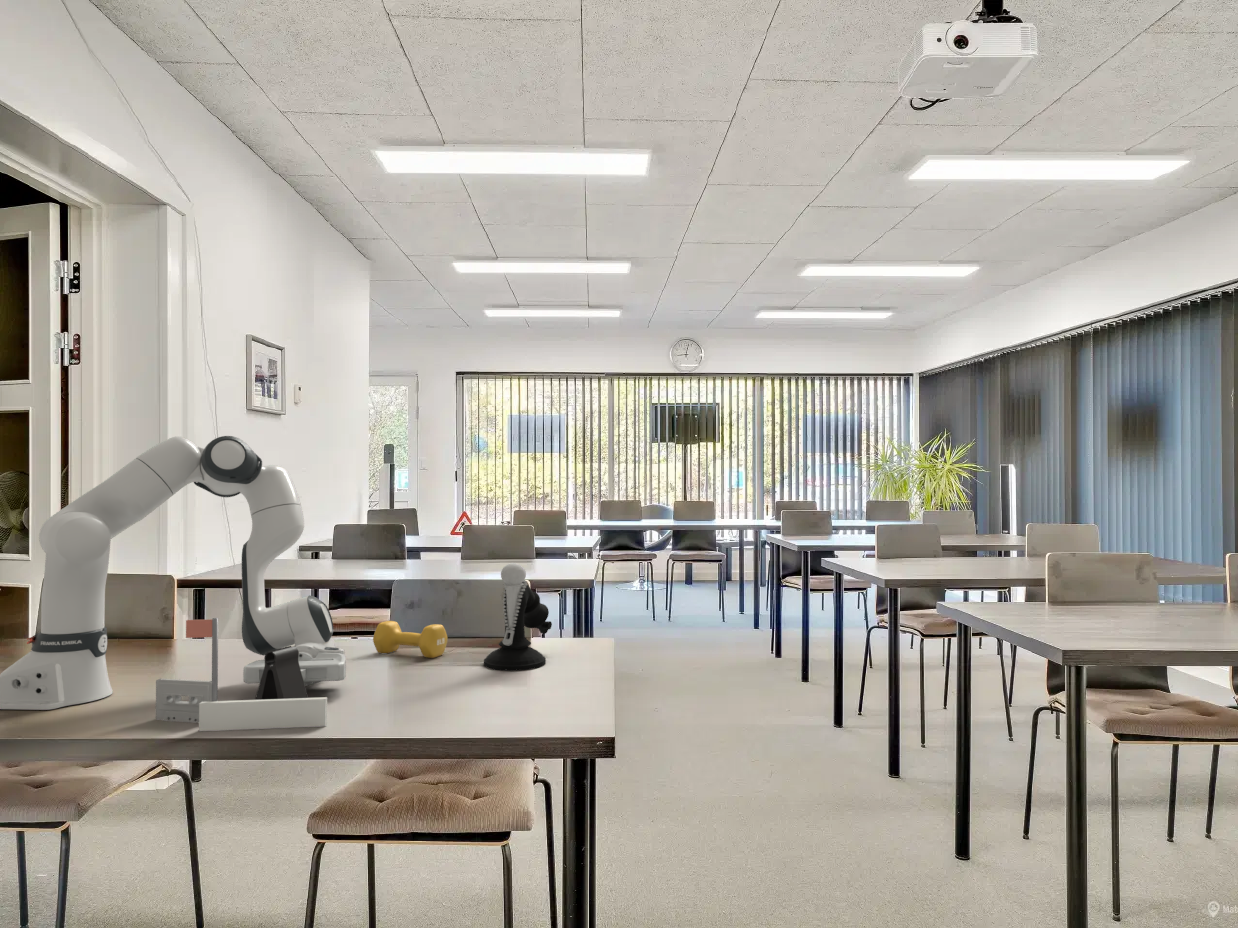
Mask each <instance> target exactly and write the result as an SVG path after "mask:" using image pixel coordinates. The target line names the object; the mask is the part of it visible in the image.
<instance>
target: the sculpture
mask: <svg viewBox="0 0 1238 928" xmlns="http://www.w3.org/2000/svg"><path fill="white" fill-rule="evenodd" d="M526 575H527V571H526V569H525V567H524V566H522V564H520V563H516V562H510V563H507V564H506V565H505V566H503V567H502V569H501V572H500V578H501V580H502V582H503V584H502V585H503V587H504V588H503V589H504V590H503V592H502V593H503V594H502V597H503V598H502V604H503V605H502V608H503V609H502V612H503V619H504V638H503V639H501V641H499V642H498V646H499V648H497V649H495V650H493V651H492V652H490V653H489V654H487V656H486V657H485V658H484V659H483V667H484V668H487V669H490V670H494V669H495V671H507V672H508V671H510V672H512V671H513V672H514V671H529V670H534V669H538V668H542V667H544V665H545V666H546V661H547V659H546V657H545V656H544V655H543V654H542V653H541V652H540V651H539V650H537V649H535V648H533V647H531V646H530V645H532V642H531V641H529V640H528V638H526V635H525V633H526V632H525V627H526V628H527V629H528V628H529V629H538V631H539V632H540V634H542V635H543V634H547V633H548V631H549V630H551V629H552V626H553V623H552V621H548V620H547V619H548V617H549V611H550V610H549V608H548V606H547V605H546V604H544V603H541V597H540V595H539V593H537V591H533V590H532V589H531V586H529V585H528V581H527V580H526Z"/></svg>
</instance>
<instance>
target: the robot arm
mask: <svg viewBox="0 0 1238 928" xmlns="http://www.w3.org/2000/svg"><path fill="white" fill-rule="evenodd" d="M191 483H193V484H194V485H195V486H196V487H198V488H201V489H203V490H204V491H207V492H209V493H211V494H212V495H214V496H217V497H220V498H233V497H235V496H238V495H240V494H241V495H243V497H244V499H245V500H246V502H247V504H248V507H249V512H250V517H251V532H250V536H249V538H248V540H247V541H246V542H245V543H244V544H243V546H242V552H241V590H242V592H241V594H242V617H241V619H242V621H241V638H242V642H243V645H244V646H245V649H247V650H249V651H250V652H252V653H254V654H256V655H260V656H265V654H266V653H267V652H269V651H273V650H277V649H280V648H284V647H288V646H295V647H297V649H298V652H299V656H298V662H299V666H300V670H301V673H302V677H303V681H304V685H305V687H306V686H310V685H312V684H317V683H319V682H320V683H321V682H335V681H336V682H338V681H344V680H345V679H346V676H347V657H346V652H345V649H344V648H341V647H336V641H335V640H334V638H333V633H334V623H333V617H332V616H331V615H332V614H331V612H330V610H329V608H328V605H326V603H324V602H323V601H322V600H321V599H319V598H318V597H315V596H313V595H307V596H304V597H299V598H295V599H292V600H290V601H287V602H284V603H281V604H277V605H274V606H270V607H266V592H265V573H266V570H267V568H268V566H269V565H270V564H271V563H272V562H273V561H275V559H276V558H278V557H279V556H281V555H282V554H283V553H284V552H286V551H287V550H289V549H290V548H292V546H294V545H295V544H296V543H297V541H298V540H299V539H300V538H301V536H302V535H303V532H304V531H305V519H304V511H303V507H302V504H301V500H300V497H299V493H298V491H297V487H296V486H295V484H294V481H293V478H292V477H291V474H290V473H289V471H288V470H287V469H286V468H285V467H282V466H279V465H273V464H272V465H271V464H270V465H263V460H262V458H261V457H260V456H259V455H258V454H256V452H255V451H254V449H252V448H251V447H250V446H249V445H248V444H247V442H246V441H244V440H242V439H241V438H239V437H236V436H232V435H223V436H218V437H215V438H214V439H212V440H210V441H209V443H208V444H206V446H205V447H204V448H203V447H199V446H197V444H195V442H193V441H192V440H190V439H188V438H186V437H182V436H172V437H169V438H168V439H165V440H162V441H161V442H159V443H158V444H156V445H154V446H152V447H151V448H149V449H147V450H145V451H144V452H142V453H141V454H140V455H138V456H136V457H135V458H134V459H132V460H131V461H130V462H129V463H127V464H125V466H123V467H122V468H120V469H119V470H117V471H116V472H114V474H112V475H111V476H110V477H108V478H107V479H105V480H104V481H102V482H101V483H100V484H97V485H96V486H95V487H93V488H92V489H90V490H89V491H87V492H85V493H84V494H82V495H80V496H79V497H78V498H75V500H73V501H71V502H70V503H68V505H66V506H64V507H63V508H62V509H61V508H60V509H59V510H58V511H57V512H56V513H55V514H53V515H51V516H50V517H49V518H47V519H46V520H45V521H44V523H43V524H42V526H41V527H40V530H39V534H38V540H39V545H40V548H41V549H42V550H43V552H44V553H45V562H44V571H43V572H44V573H43V581H42V582H43V583H42V590H41V601H40V602H41V604H40V605H41V608H40V610H41V611H40V620H41V621H40V632H38V633H36V634H34V635H32V636H31V637H28V638H26V640H27V642H26V644H27V645H29V644H31V649H30V651H29V652H28V653H26V654H25V655H24V656H22V657H21V658H19V659H18V660H16V661H15V662H14V663H13V664H11V665H9V666H8V667H7V668H6V669H5V670H3V671H2V672H1V673H0V710H30V711H31V710H34V711H35V710H36V711H39V710H41V711H46V710H47V711H49V710H55V709H58V708H63V707H67V706H73V705H79V704H84V703H89V702H93V701H97V700H100V699H103V698H107V697H109V696H110V695H112V694H113V693H114V692H113V691H114V690H113V688H112V685H111V682H110V677H109V674H108V668H107V667H108V666H107V660H106V653H107V649H108V628H107V627H106V626H105V611H106V610H105V609H106V607H105V606H106V586H107V585H106V583H107V577H108V571H109V564H110V562H109V561H110V551H111V540H113V539H114V538H116V536H118V535H119V534H121V533H122V532H124V531H126V530H127V529H129V528H130V527H132V526H134V525H135V524H136V523H138V522H141V521H142V520H143V519H145V518H146V517H147V516H149V515H150V514H151V513H153V511H155V510H156V509H158V508H159V507H160V506H161V505H162V504H164V503H166V501H169V499H170V498H172V497H173V496H174V495H175V494H176V493H177V492H179V491H181V490H182V489H183V488H184V487H186V486H187V485H189V484H191ZM264 667H265V660H264V659H258V660H255V661H252V662H251V663H248V664H246V665H245V666H244V667H243V670H242V671H243V672H242V673H243V674H242V675H243V676H242V680H243V683H245V684H247V685H249V684H260V681H261V678H262V674H263V671H264Z"/></svg>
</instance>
